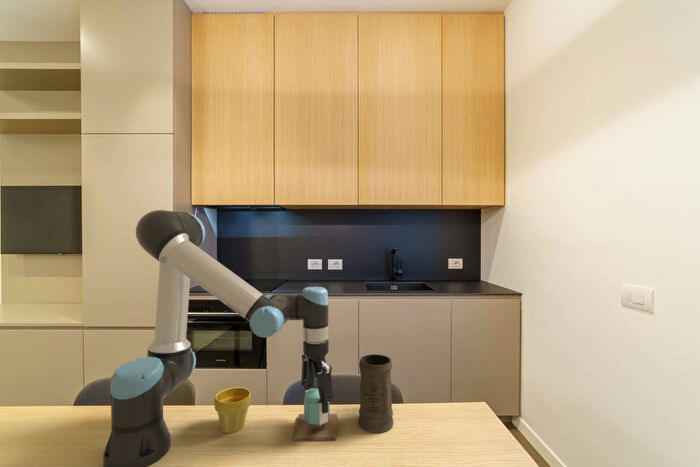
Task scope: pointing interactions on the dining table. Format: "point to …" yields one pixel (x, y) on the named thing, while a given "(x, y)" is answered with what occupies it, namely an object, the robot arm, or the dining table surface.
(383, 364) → the beer stein
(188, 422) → the dining table surface
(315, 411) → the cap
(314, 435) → the post block
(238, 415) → the plant pot
